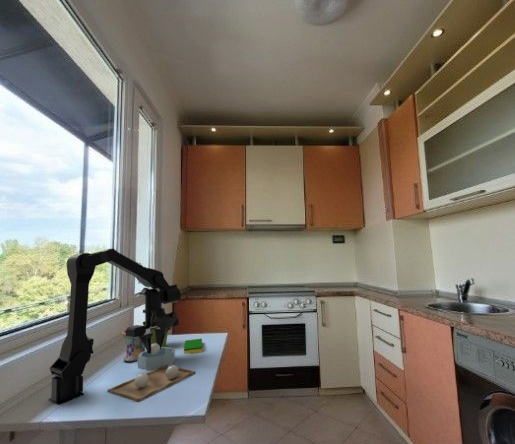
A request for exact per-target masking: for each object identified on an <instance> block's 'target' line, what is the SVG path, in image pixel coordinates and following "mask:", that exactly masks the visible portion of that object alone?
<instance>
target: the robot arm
mask: <svg viewBox="0 0 515 444" xmlns="http://www.w3.org/2000/svg"><path fill="white" fill-rule="evenodd" d="M106 263H108V264H110V265H112V266H113V267H116V268H118V269H120V270H121V271H124V272H125V273H127V274H129V275H131V276H133V277H134V278H135V279H137V280H136V281H138V282H139V283H140V284H141V285H142V286H144V287H143V288H142V289H141V291H140V292H139V293H138V295H140V296H143V295H144V309H142V313H143V314H144V317H145V318H144V319H145V320H144V321H142V323H143V324H142V325H140V324H134V325H131V326H128V327H126V329H125V330H126V336H130V337H138V336H139V338H140V339H141V341H142V342H143V344H144V346H145V350H146V351H147V352H148V353H151V337H152V335H153V333H150V330H152V329H155V328H156V329H155V334H156V342H157V344H158V345H159V346H160V349H161V346H162V343H163V340H164V337H165V334H166V333H167V332H168V333H169V331H170V330H171V329H172V327H176V326H179V325H180V320H179V318H178V315H177V314H178V313H177V312H175V311H172V312H171V311H170V312H169V313H166V312H165V311H166V310H165V308H164V307H163V305H166V304H172V303H178V302H179V301H180V300H181V297H182V293H181V290H180V288H178V284H177V283H176V284H175V283H173V284H169V283H168V282H167V280H166V278H165V277H164V273H163V272H162V271H160V270H157V269H154V268H149V267H146V266H143V265H142V264H140V263H139V262H136V261H135V260H133V259H131V258H129V257H128V256H126V255H124V254H122V253H121V252H119V251H118V250H117V249H115V248H106V249H103V250H100V251H98V252H93V253H89V252H83V253H76V254H73V255H71V256H70V257H69V258H68V259H67V261H66V263H65V265H66V273H67V277H68V281H69V282H70V293H69V294H70V295H69V307H68V308H69V309H68V321H67V333H66V336H65V339H64V341H63V342H62V345H61V349H60V353H59V357H57V359H56V360H55V361H54V362H53V363H52V364H51V366H50V367H49V368H48V369H49V371H50V373H51V375H52V376H53V377H51V389H50V390H51V391H50V393H51V394H50V395H51V397H50V398H48V399H47V400H48V401H49V402H51V403H53V404H55V405H58V406H60V405H63V404H65V403H67V402H70V401H72V400H74V399H77V398H81V397H82V396H84V395H85V393H84V375H83V374H84V371H85V368H86V365H87V364H88V362H90V360H91V357H92V355H93V354H94V351H93V346H94V338H91V337H88V335H87V323H88V322H87V321H88V308H89V307H88V304H89V303H88V302H89V287H90V283H91V280H92V278H93V276H94V273H95V270H96V267H97V266H101V265H103V264H106ZM149 288H150V289H149ZM162 304H163V305H162ZM144 325H145V326H144Z"/></svg>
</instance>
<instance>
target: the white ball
mask: <svg viewBox="0 0 515 444" xmlns="http://www.w3.org/2000/svg"><path fill="white" fill-rule="evenodd" d="M159 351H160V346H159V345H158V344H157V343H154V344H152V345H151V353H150V354H151V355H156V354H158V353H159Z"/></svg>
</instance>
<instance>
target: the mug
mask: <svg viewBox="0 0 515 444" xmlns="http://www.w3.org/2000/svg"><path fill="white" fill-rule="evenodd" d="M121 335H122V336H123V339H124V343H125V353H124V356H123V357H122V360H123V361H125V362H131V363H132V362H138V356H139V354H140V353H141V352H144V351H147V350H146V348H145V346H144V344H143V342H142V341H141V339H140V338H139V336H138V337H130V336H126V329H125V330H122V331H121Z"/></svg>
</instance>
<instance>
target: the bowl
mask: <svg viewBox="0 0 515 444" xmlns="http://www.w3.org/2000/svg"><path fill="white" fill-rule="evenodd" d="M175 360H176V348H175V347H168V346H166V347H161V349H160V351H159V353H158V354H156V355H151V354H150V353H148V352H147V350H146V351H144V352H141V353H140V354H139V356H138V361H137V369H140V370H145V371H149V370H150V371H153V370H155V369H158V368H160V367H163V366H165V365H167V366H171V365H174V364H175Z"/></svg>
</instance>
